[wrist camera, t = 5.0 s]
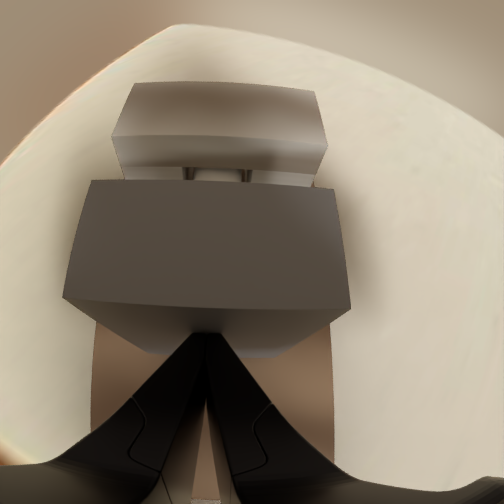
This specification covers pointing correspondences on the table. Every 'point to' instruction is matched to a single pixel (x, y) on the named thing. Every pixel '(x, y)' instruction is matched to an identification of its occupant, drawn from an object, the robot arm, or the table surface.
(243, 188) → the block
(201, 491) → the frame
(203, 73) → the table surface
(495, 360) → the table surface
